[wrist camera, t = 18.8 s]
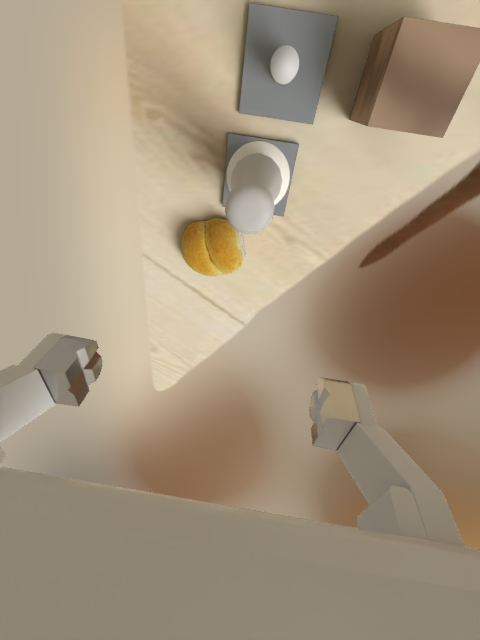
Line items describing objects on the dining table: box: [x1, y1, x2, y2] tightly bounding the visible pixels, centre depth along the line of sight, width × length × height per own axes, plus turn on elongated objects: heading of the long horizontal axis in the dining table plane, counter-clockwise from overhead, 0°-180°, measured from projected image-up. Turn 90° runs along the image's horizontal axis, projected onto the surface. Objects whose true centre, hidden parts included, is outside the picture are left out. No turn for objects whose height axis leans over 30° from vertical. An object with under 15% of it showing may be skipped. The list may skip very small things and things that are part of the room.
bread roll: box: [181, 218, 246, 276], centre depth 39 cm, size 8×9×4 cm
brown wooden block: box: [349, 17, 480, 138], centre depth 25 cm, size 6×6×8 cm
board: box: [239, 3, 338, 124], centre depth 26 cm, size 8×8×6 cm
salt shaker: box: [225, 153, 282, 234], centre depth 29 cm, size 6×6×13 cm
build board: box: [223, 133, 299, 216], centre depth 34 cm, size 8×8×1 cm
